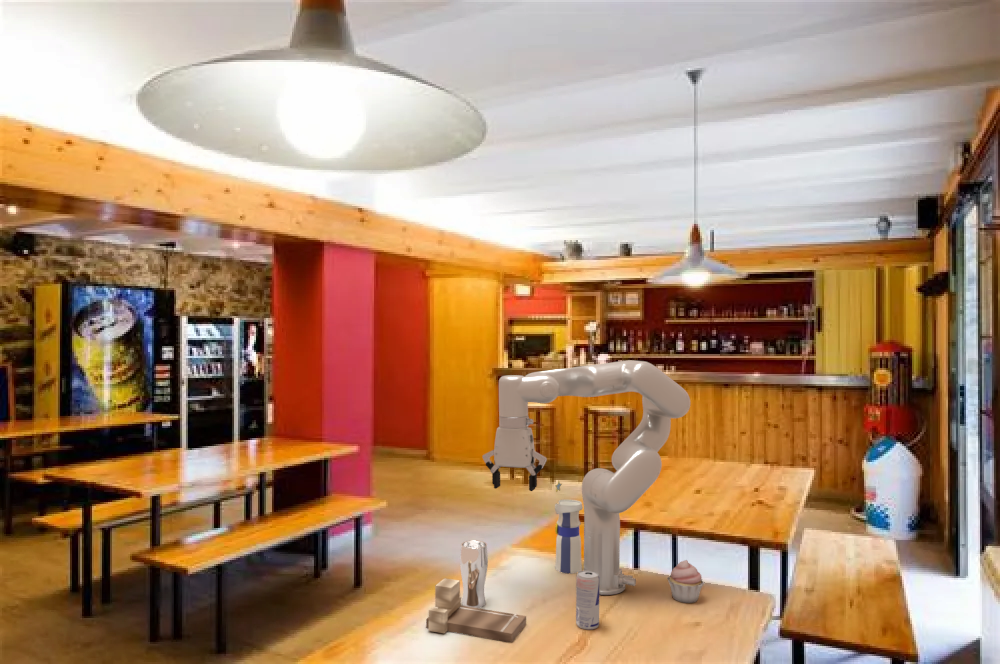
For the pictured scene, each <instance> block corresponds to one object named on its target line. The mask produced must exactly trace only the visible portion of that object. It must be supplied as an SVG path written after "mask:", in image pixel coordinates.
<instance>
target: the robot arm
mask: <svg viewBox="0 0 1000 664" xmlns="http://www.w3.org/2000/svg"><path fill="white" fill-rule="evenodd" d="M629 392H631V393H632V392H634V393H638V394H640V395H641V396H642V398H641V399H642V400H641V401H642V410H643V411H642V412H643V413H642V418H641V420H640V423H639V424H638V425H637V426H636V428H635V429H634V430H633V431H632V432H631V433H630V434H629V435H628V436H627V437H626V438H625V439H624V440H623V442H621V443H620V444H619V446H618V447H617V448H616V449H615V450H614V452H613V453H612V455H611V464H612V466H613V468H614V469H615V472H613V471H611V470H609V469H606V468H601V467H600V468H599V467H598V468H597V467H596V468H594V469H591V470H590V471H588V472H587V473H586V474H585V475H584V477H583V480H582V482H581V497H582V505H583V512H584V513H583V517H584V518H583V520H584V521H583V522H584V523H583V524H584V525H583V526H584V528H583V570H590V571H595V572H597V573H598V574H599V596H600V595H601V596H609V595H617V594H620V593H622V592H623V591H624V590H625V589H626V585H627V586H633V587H635V586H636V583H637V580H636V578H635V577H634V576H633V575H629V574H628V575H627V574H624V573H623V569H622V568H620V558H621V557H620V555H621V554H620V547H621V546H620V545H621V544H620V542H621V539H620V537H621V535H620V534H621V533H620V532H621V519H620V513H624V512H626V511H627V510H629V509H630V508H631V507H633V505H634V504H635V503H637V501H638V500H640V498H641V497H642V496H643V495H644V494H645V493H646V491H648V490H649V488H650V487H652V485H654V484H655V482H656V481H657V479H658V478H659V476H660V473H661V471H662V465H663V463H662V457H661V456H660V454H659V453H658V452H659V451H660V449H662V447H663V446H664V445H665V444H666V443H667V441H668V439H669V436H670V433H671V424H672V422H671V421H672V420H671V419H679V418H682V417H684V416H685V415H686V414H688V412H689V410H690V407H691V399H690V396H689V394H688V392H687V391H686V390H685V388H683V387H682V386H681V385H680V384H678V383H677V382H676V381H674V380H673V379H672V378H671V377H669V376H668V375H667V374H666V373H664V371H662V370H661V369H659V368H658V367H657V366H655V365H654V364H652V363H650V362H648V361H644V360H633V359H632V360H630V359H628V360H621V361H620V360H619V361H613V362H606V363H597V364H591V365H590V364H589V365H582V366H574V367H567V368H557V369H550V370H542V371H541V370H540V371H534V372H531V373H530V372H529V373H528V374H526V375H525V376H524V375H521V374H520V375H519V374H518V375H517V374H516V375H514V374H513V375H512V374H510V375H501V377H500V378H499V380H498V412H499V413H498V414H499V417H498V419H499V421H498V423H499V424H498V425H499V426H498V427H497V428H496V432H495V439H494V449H492V450H490V451H488V452H486V453H483V455H482V459H483V461H484V463H485V466H486V467H487V468H488V470H489V471H490V473H491V475H492V483H491V484H492V485H493V488H494V489H497V488H499V487H501V471H500V470H499V469H501V467H505V468H521V469H522V468H523V469H524V468H525V469H526V470H527V471H528V473H529V475H528V490H529V491H530V492H533V491H534V490H535V489H536V488H537V487H538V476H537V475H538V473H539V472H540V471H541V470H542V469H543V468H544V466H545V465H546V463H547V460H548V459H547V457H546V456H545V455H543V454H540V453H539V452H537V451H536V450H535V441H534V434H533V430H532V427H529V426H530V425H533V424H534V419H533V418H530V417H529V403H535V404H549V403H552V402H553V401H555V400H556V399H557V398H558V397H565V396H566V397H567V396H569V397H581V398H591V397H592V398H594V397H600V396H607V395H615V394H622V393H629ZM491 457H493V459H494V462H492V460H491ZM536 460H538V461H539V462H538V464H537V466H536V465H535V462H536ZM633 577H634V578H633Z"/></svg>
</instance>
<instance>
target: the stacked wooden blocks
mask: <svg viewBox="0 0 1000 664" xmlns="http://www.w3.org/2000/svg"><path fill="white" fill-rule="evenodd" d="M434 589H435V591H434V592H435V593H434V595H435V596H434V597H435V598H434V599H435V601H434V602H435V603H434V607H432V606H431V607H430V608H429V609H428V617H429V628H427V629H428V632H435V633H439V634H446V632H448V631H447V619H448V617H449V616H450V615H451V614H452V613H453V612H454V611H455V610H457V609H458V608H459V607H460V606H462V597H461V596H460V595H461V590H460V589H461V580H458V579H451V578H446V577H445V578H443V579H442V580H440V581H439V582H438V583H437V584H436V585H435V588H434Z"/></svg>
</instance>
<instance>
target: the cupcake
mask: <svg viewBox="0 0 1000 664" xmlns="http://www.w3.org/2000/svg"><path fill="white" fill-rule="evenodd" d="M667 582H668V584H669V586H670V590H671V596H672V598H673V599H674V600H675V601H677V602H680V603H687V604H692V603H696V602H697V601H698V600H699V597H700V593H701V589H702V588H703V586H704V584H705V581H703V577H702V574H701V572H699V571H698V569H697V567H695V566H694V565H692V564H691V563H690V562H689V561H688V560H687V559H684V560H682V561H679V562H678V564H676V566H675V567H674V568H672V570H671V572H670V575H669V576H668V577H667Z"/></svg>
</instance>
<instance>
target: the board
mask: <svg viewBox="0 0 1000 664" xmlns="http://www.w3.org/2000/svg"><path fill="white" fill-rule="evenodd" d="M425 619H426V620H425V621H426V625H425V627H426V628H427V629H428V628H429V616H427V618H425ZM526 626H527V615H522V614H517V613H509V612H503V611H497V610H492V609H485V608H474V607H467V606H463V605H461V606H460V607H459V608H458V609H457V610H455V611H454V612H453V613H452V614H451V615H450V616H449V617H448V619H447V631H446V632H450V633H454V632H457V633H456V634H460V633H463V634H462V635H465V634H468V635H467V636H471V635H473V636H472V637H478V638H484V639H489V640H494V641H498V642H499V641H500V642H506V643H513V642H514V641H515V640H516V638H517V637H518V636H519V634H520V633H521V632H522V631H523V629H524V628H525V627H526Z"/></svg>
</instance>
